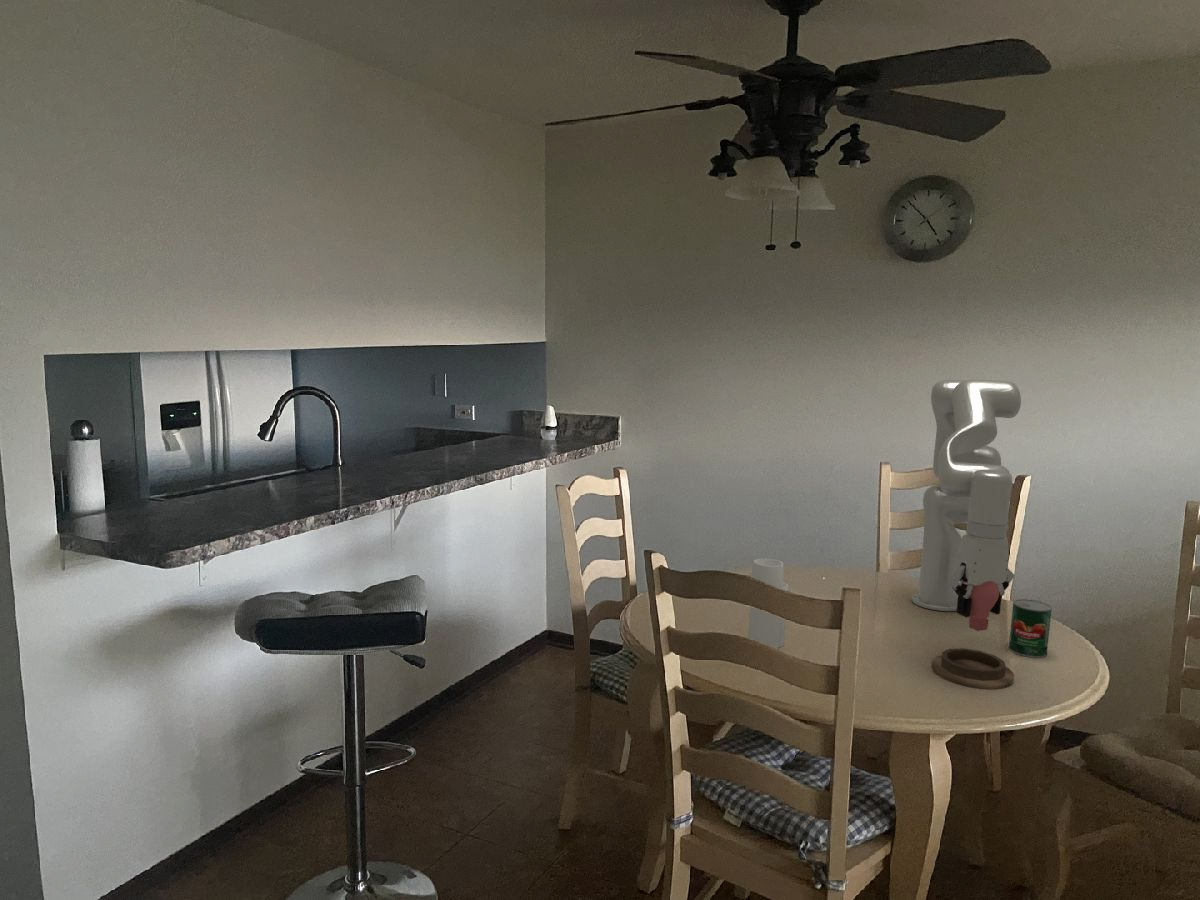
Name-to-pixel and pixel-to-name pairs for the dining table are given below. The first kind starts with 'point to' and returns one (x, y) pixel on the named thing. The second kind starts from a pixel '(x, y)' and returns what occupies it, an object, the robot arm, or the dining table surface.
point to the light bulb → (982, 604)
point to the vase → (761, 622)
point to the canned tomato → (1030, 628)
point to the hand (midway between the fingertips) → (978, 613)
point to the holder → (973, 669)
